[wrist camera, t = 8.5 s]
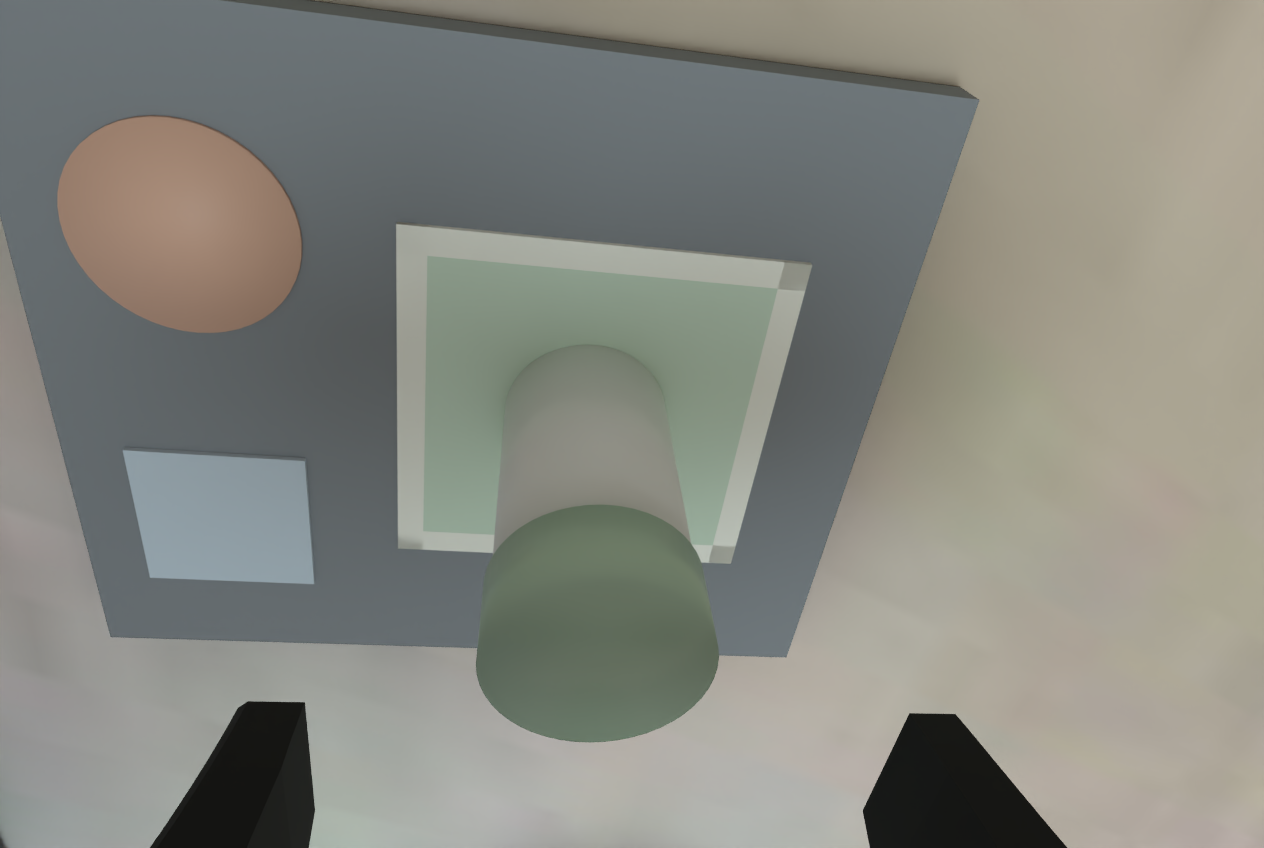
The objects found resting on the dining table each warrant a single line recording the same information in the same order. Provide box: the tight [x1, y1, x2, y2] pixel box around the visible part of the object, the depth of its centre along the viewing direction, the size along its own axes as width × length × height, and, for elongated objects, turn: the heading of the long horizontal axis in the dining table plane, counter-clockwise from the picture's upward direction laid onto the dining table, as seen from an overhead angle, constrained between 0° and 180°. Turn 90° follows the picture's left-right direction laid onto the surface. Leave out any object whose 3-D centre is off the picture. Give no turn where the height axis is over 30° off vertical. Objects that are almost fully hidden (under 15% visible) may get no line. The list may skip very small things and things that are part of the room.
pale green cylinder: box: [476, 345, 719, 742], centre depth 14 cm, size 3×3×6 cm
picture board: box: [0, 0, 979, 657], centre depth 17 cm, size 13×15×1 cm
